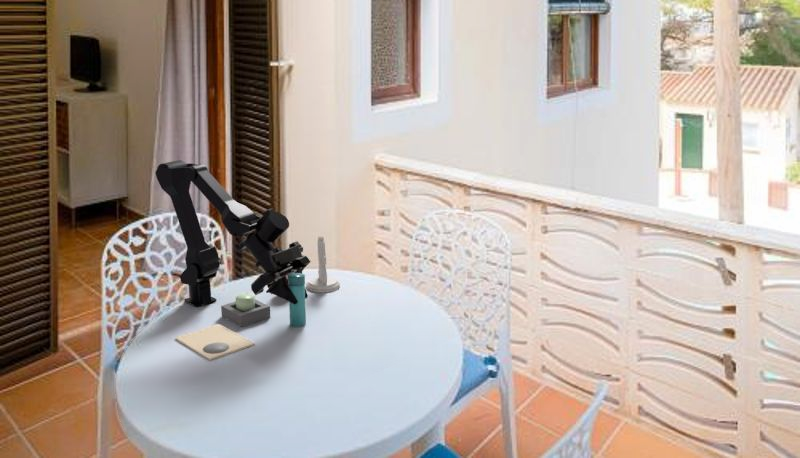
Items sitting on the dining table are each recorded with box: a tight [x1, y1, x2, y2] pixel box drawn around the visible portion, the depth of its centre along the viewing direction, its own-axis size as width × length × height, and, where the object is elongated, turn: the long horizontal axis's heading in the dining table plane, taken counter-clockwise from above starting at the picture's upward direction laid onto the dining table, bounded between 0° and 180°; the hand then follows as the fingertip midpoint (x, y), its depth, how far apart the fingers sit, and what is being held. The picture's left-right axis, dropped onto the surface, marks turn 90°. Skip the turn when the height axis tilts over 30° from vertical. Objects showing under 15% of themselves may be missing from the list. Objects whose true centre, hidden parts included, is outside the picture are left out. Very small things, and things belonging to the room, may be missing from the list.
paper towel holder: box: [305, 235, 341, 293], centre depth 205 cm, size 10×10×15 cm
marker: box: [288, 272, 307, 328], centre depth 179 cm, size 4×4×13 cm
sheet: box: [174, 323, 256, 361], centre depth 169 cm, size 16×12×1 cm
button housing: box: [220, 299, 271, 327], centre depth 184 cm, size 9×9×3 cm
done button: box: [235, 293, 256, 312], centre depth 183 cm, size 5×5×4 cm
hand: (301, 300), depth 178 cm, fingers closed on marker, 4 cm apart
